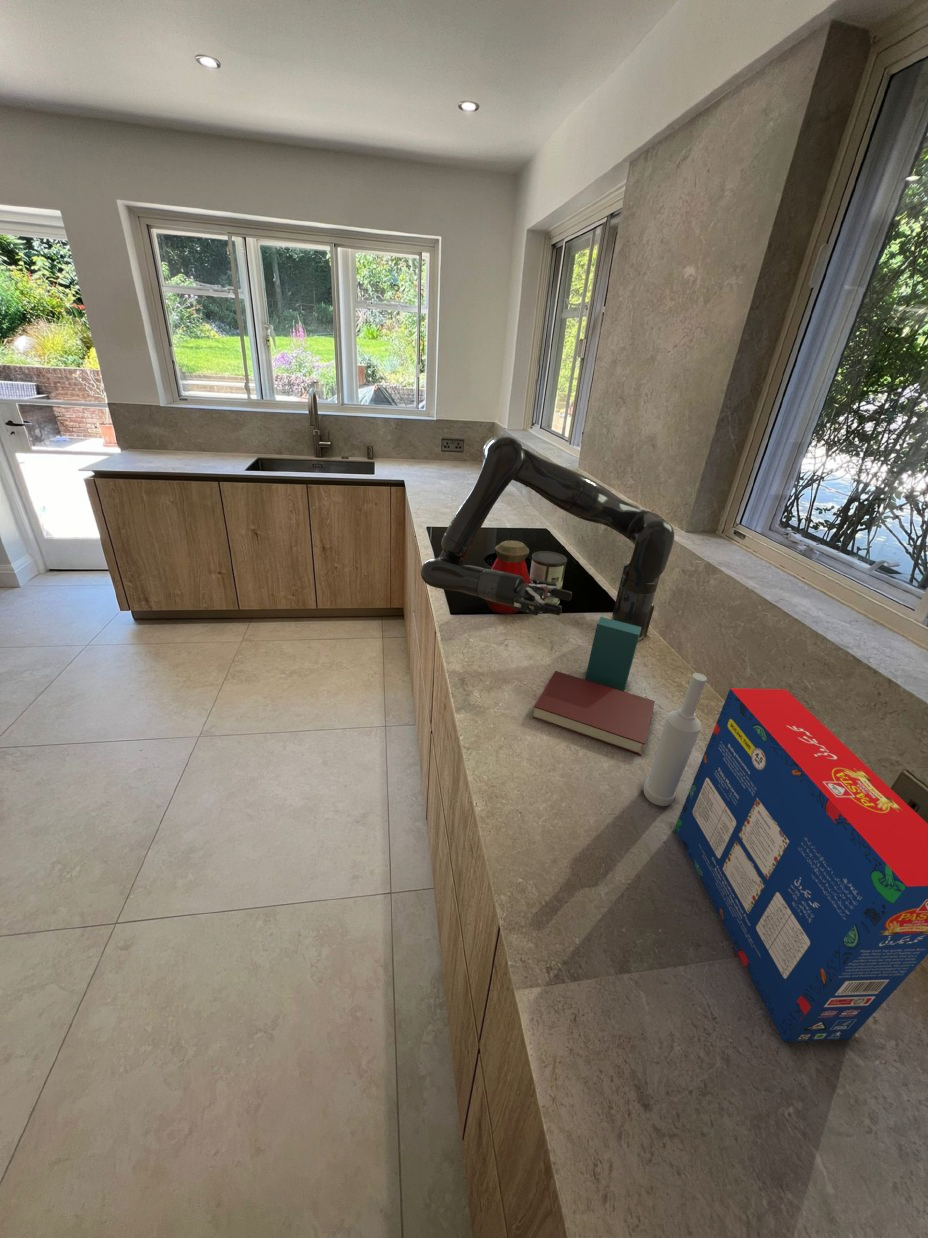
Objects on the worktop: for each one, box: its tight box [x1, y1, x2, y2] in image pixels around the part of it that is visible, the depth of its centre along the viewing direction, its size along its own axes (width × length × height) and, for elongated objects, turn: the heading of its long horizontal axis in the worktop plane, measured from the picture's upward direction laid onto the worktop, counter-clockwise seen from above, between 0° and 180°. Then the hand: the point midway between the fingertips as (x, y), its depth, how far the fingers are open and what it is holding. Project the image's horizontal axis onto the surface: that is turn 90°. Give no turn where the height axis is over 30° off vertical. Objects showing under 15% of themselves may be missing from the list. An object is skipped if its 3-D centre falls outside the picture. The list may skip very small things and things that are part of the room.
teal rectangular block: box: [584, 616, 642, 692], centre depth 112 cm, size 9×4×15 cm, turn 64°
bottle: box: [643, 672, 708, 807], centre depth 80 cm, size 5×5×25 cm
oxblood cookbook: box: [532, 670, 656, 756], centre depth 103 cm, size 22×15×3 cm
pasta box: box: [674, 687, 928, 1043], centre depth 61 cm, size 28×8×28 cm, turn 4°
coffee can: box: [529, 550, 568, 605], centre depth 149 cm, size 10×10×14 cm
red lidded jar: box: [484, 540, 531, 615], centre depth 141 cm, size 16×14×20 cm
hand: (566, 603), depth 112 cm, fingers open, 8 cm apart
